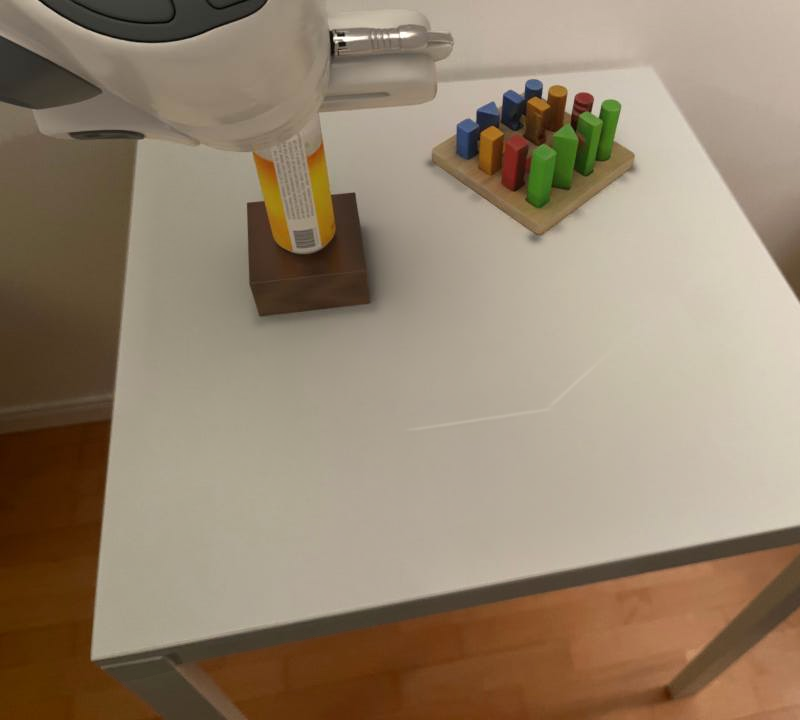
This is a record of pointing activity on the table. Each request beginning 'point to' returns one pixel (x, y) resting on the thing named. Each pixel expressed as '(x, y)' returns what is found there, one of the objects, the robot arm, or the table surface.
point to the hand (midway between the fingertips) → (263, 100)
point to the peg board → (537, 153)
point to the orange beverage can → (298, 190)
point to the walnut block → (307, 265)
